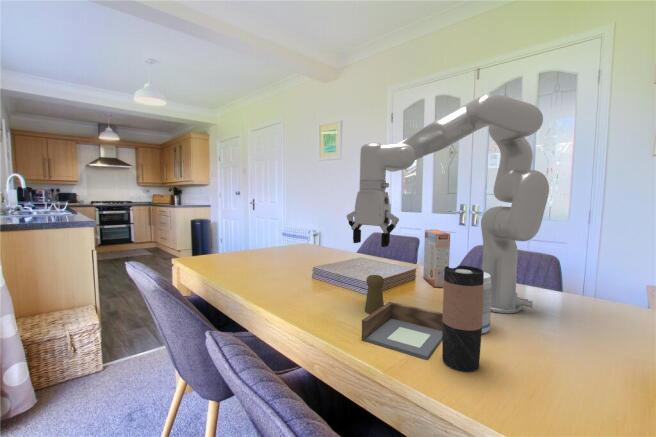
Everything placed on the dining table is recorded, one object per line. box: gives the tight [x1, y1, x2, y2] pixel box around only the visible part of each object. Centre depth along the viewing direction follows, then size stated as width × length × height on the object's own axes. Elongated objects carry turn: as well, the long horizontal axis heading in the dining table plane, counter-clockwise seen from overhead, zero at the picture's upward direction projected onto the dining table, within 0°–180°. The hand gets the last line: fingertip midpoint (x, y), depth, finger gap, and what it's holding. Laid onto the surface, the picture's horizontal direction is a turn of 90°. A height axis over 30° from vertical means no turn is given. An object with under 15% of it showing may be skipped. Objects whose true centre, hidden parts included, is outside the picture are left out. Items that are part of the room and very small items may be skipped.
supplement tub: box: [482, 272, 492, 334], centre depth 83 cm, size 10×10×15 cm
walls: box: [361, 301, 443, 342], centre depth 78 cm, size 16×16×5 cm
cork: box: [364, 274, 385, 315], centre depth 95 cm, size 6×6×11 cm
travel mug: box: [441, 265, 484, 373], centre depth 66 cm, size 8×8×20 cm
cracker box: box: [422, 229, 451, 288], centre depth 125 cm, size 14×6×21 cm, turn 179°
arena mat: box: [362, 319, 442, 361], centre depth 78 cm, size 16×16×1 cm
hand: (370, 244), depth 94 cm, fingers open, 9 cm apart
